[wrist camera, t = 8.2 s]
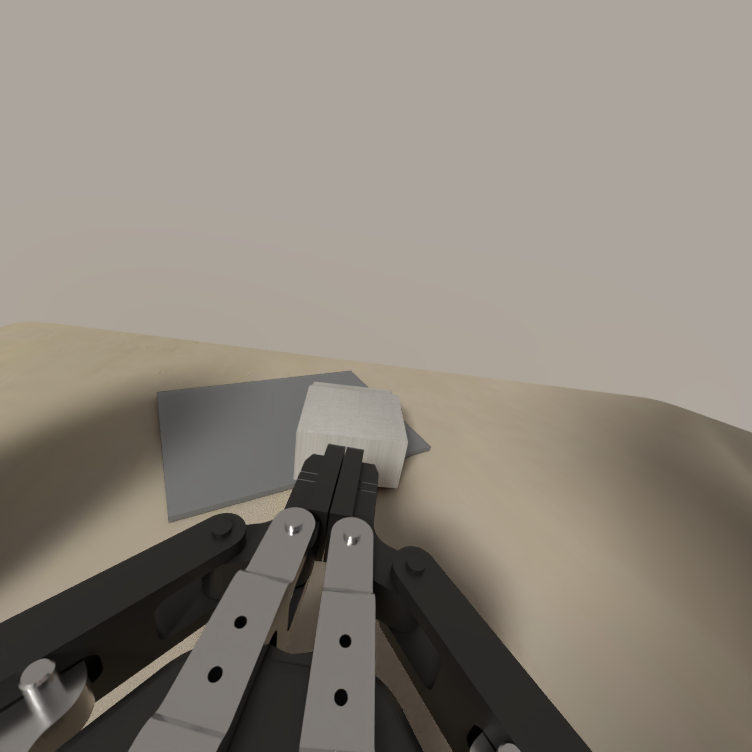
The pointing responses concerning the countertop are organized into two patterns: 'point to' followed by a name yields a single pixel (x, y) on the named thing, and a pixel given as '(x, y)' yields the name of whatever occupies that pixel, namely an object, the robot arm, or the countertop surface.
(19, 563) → the countertop surface
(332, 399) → the tea packet
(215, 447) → the mat
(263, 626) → the robot arm
